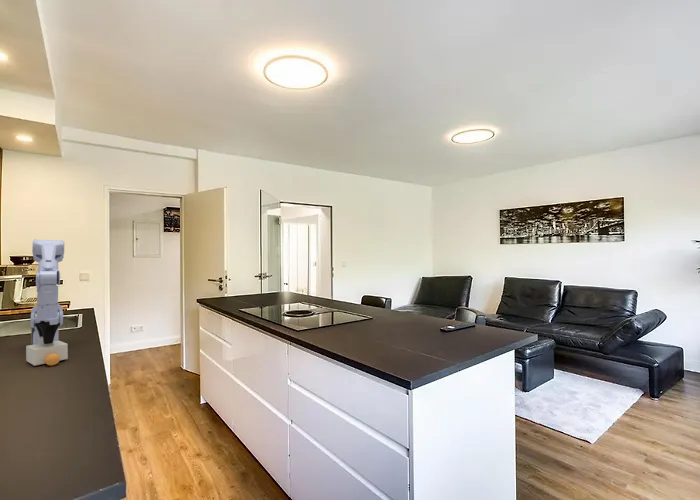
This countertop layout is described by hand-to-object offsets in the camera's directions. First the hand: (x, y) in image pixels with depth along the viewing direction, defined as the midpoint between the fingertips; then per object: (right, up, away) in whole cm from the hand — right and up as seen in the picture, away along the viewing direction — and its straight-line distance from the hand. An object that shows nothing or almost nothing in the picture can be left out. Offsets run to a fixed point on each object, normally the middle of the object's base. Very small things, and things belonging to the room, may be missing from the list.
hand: (46, 342), depth 126 cm
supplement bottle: (-23, -7, +25) cm, 35 cm away
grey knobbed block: (0, -6, 0) cm, 6 cm away
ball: (+5, -5, -4) cm, 8 cm away
